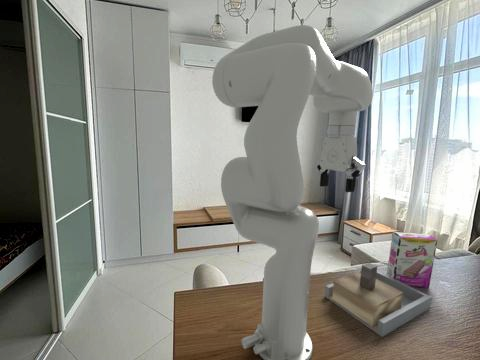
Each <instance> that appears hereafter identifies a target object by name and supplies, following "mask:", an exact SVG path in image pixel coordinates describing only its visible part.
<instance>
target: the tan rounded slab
mask: <svg viewBox="0 0 480 360" xmlns="http://www.w3.org/2000/svg"><path fill="white" fill-rule="evenodd" d="M377 271H378V266H377V265H375V264H373V263H371V262H367V263H364V264H361V271H358V272H355V273H352V274H349V275H347V276H343V277H340V278H338V279H335V280H333V283H334V284H333V295H332V299H333V300H334V301H336V302H337V303H339V304H340V305H341V306H343V307H344V308H346V309H347V310H349V311H350V312H352V313H353V314H354V315H356V316H357V317H359V318H360V319H362V320H363V321H364V322H366V323H367V324H369V325H370V326H372V327H373V326H375V325H376V324H378V321H379V320H380V319H382V318H384V317H385V316H387V315H389V314H391V313H393V312H395V311H397V310H399V309H401V303H402V296H403V292H401V291H399V290H397V289H395V288H393V287H392V286H390V285H388V284H386V283H384V282H382V281H380V280H378V279H376V274H377Z"/></svg>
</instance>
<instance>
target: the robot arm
mask: <svg viewBox="0 0 480 360" xmlns="http://www.w3.org/2000/svg"><path fill="white" fill-rule="evenodd" d="M330 50H331V49H329V47H328V46H327V43H326V42H325V40H324V38H323V37H322V35H321V34H320V32H319V31H318V30H317V29H316V28H314V27H313V26H311V25H306V24H301V25H294V26H290V27H287V28H283V29H279V30H275V31H272V32H267V33H263V34H260V35H258V36H256V37H254V38H252V39H251V40H248V41H247V42H245V43H243V44H242V45H241V46H239V47H237V48H235V49H234V50H232V51H230V52H228V53H227V54H225V55H224V56H222V57H221V58H220V59H219V61H218V62H217V64H216V65H215V67H214V69H213V74H212V77H211V78H212V82H211V83H212V89H213V92H214V94H215V97H216V98H217V99H218V101H220V102H221V103H222V104H224V105H225V106H228V107H231V108H246V107H257V108H256V110H255V112H254V114H253V116H252V118H251V119H250V121H249V123H248V126H247V127H246V130H245V133H244V136H243V137H244V138H243V146H244V151H245V153H246V154H245V155H246V156H238V157H235V158H233V159H230V161H228V162H227V163H226V165H225V166H224V168H223V171H222V174H221V179H220V180H221V181H220V187H221V194H222V197H223V199H224V202H225V205H226V208H227V210H228V212H229V215H230V218H231V220H232V223H233V225H234V226H235V230H236V231H237V233H238V234H239V235H240V236H241V237H242V238H244V239H245V240H248V241H250V242H255V243H256V244H257V243H258V244H261V245H263V246H264V245H265V246H267V247H269V248H272V249H274V250H275V252H274V254H273V255H272V256H271V257H270V258H268V259H267V261H266V263H265V265H264V269H263V288H262V289H263V290H262V310H261V323H259V324H257V325H256V326H257V327H256V330H255V331H254V332H253V334H252V335H248V336H245V337H243V338H242V339H241V344H242V347H243V349H244V350H246V349H248V348H251V347H253V352H254V354H255V355H259V356H260V357H261V359H263V360H310V359H311V358H312V353H313V343H312V341H313V340H312V339H311V337H310V335H309V334H308V332H307V323H308V321H307V320H308V309H309V298H310V297H309V295H310V284H311V283H310V282H311V271H312V262H313V256H314V252H315V248H316V245H317V244H316V243H317V240H318V237H319V236H318V235H319V230H320V222H319V218H318V217H317V215H316V214H315V213H314V212H313V211H312V210H311V209H309V208H308V207H304V206H302V205H301V204H302V202H303V200H304V197H305V196H304V195H305V187H304V186H305V185H304V179H303V171H302V167H301V160H300V155H299V154H300V153H299V146H298V141H297V140H298V139H297V138H298V137H297V135H298V128H299V124H300V120H301V118H302V115H303V112H304V109H305V107H306V105H307V102H308V100H309V96H312V97H313V98H312V99H313V105H314V107H315V108H316V110H317V111H319V112H321V113H327V114H328V113H329V114H328V126H327V129H326V131H325V132H326V134H327V136H325V138H324V140H323V144H322V149H321V156H320V157H318V158H317V159H315V164H316V169H317V170H318V174H320V181H319V187H321V188H322V187H329V182H330V181H329V180H330V174H329V172H330V171H333V172H334V171H336V172H345V174H346V176H347V178H346V180H345V188H344V189H345V190H344V191H345V192H346V193H354V192H355V189H356V181H357V179H358V178H359V176H361V175H362V174H363V171H364V170H365V168H366V167H367V165H366V164H365V162H364V161H361V160H360V159H359V158H358V144H357V143H358V141H357V137H355V135H356V124H357V115H358V114H357V113H358V112H361V111H365V110H367V109H368V108H369V107H370V106H371V104H372V102H373V101H372V100H373V96H374V95H373V93H374V92H373V85H372V81H371V80H370V77H369V74H368V73H367V71H365V70H364V69H363V68H361V67H358V66H357V65H353V64H349V63H347V62H344V61H341V60H340V61H339V60H336V59H335V57H334V56H333V53H331V51H330Z"/></svg>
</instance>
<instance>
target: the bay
mask: <svg viewBox="0 0 480 360" xmlns="http://www.w3.org/2000/svg"><path fill="white" fill-rule="evenodd" d="M376 279H378V280H380V281H382V282H384V283H386V284H388V285H390V286H392V287H393V288H395V289H397V290H399V291H401V292H403V296H402V303H401V309H399V310H397V311H395V312H393V313H391V314H389V315H387V316H385V317H384V318H382V319H380V320H379V321H378V324H376V325H375V326H373V327H372V326H370V325H369V324H367V323H366V322H364V321H363V320H362V319H360V318H359V317H357V316H356V315H354V314H353V313H352V312H350V311H349V310H347V309H346V308H344V307H343V306H341V305H340V304H339V303H337V302H336V301H334V300H333V299H332V295H333V284H334V283H329V284H327V285H325V294H324V298H326V299H327V300H329V301H330V302H331V303H333V304H335V305H336V306H337V307H339V308H340V309H341V310H343V311H344V312H345V313H347V314H349V315H350V316H352V317H353V318H355V319H356V320H357V321H359V322H360V323H361V324H363V325H365V326H366V327H367V328H368V329H370V330H371V331H372V332H373V333H376V334H377V335H379V336H380V337H382V338H383V337H385V336H386V335H388V334H389V333H391V332H393V331H394V330H396V329H397V328H399V327H401V326H403V325H404V324H406V323H408V322H409V321H412V320H413V319H414V318H415V319H416V317H418V316H420V315H421V314H424V313H425V312H427V311H429V310H430V309H431V304H432V298H433V296H430V295H428V294H427V293H424V292H422V291H420V290H418V289H417V288H415V287H412V286H408V285H406V284H404V283H402V282H400V281H398V280H396V279H393V278H391V277H389V276H387V274H385V273H383V272H382V271H379V270H377V274H376Z"/></svg>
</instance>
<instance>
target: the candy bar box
mask: <svg viewBox="0 0 480 360" xmlns="http://www.w3.org/2000/svg"><path fill="white" fill-rule="evenodd" d="M391 234H392V235H391V243H390V249H389V255H388V256H389V257H388V263H387V269H386V275H387V276H389V277H391V278H393V279H396V280H398V281H400V282H402V283H404V284H406V285H408V286H410V287H412V288H427V289H428V288H430V284H431V278H432V273H433V266H434V262H435V256H436V250H437V244H438V240H439V239H437V238H436V237H434V236H432V235H431V234H428V233H415V232H401V231H392V233H391Z"/></svg>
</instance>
